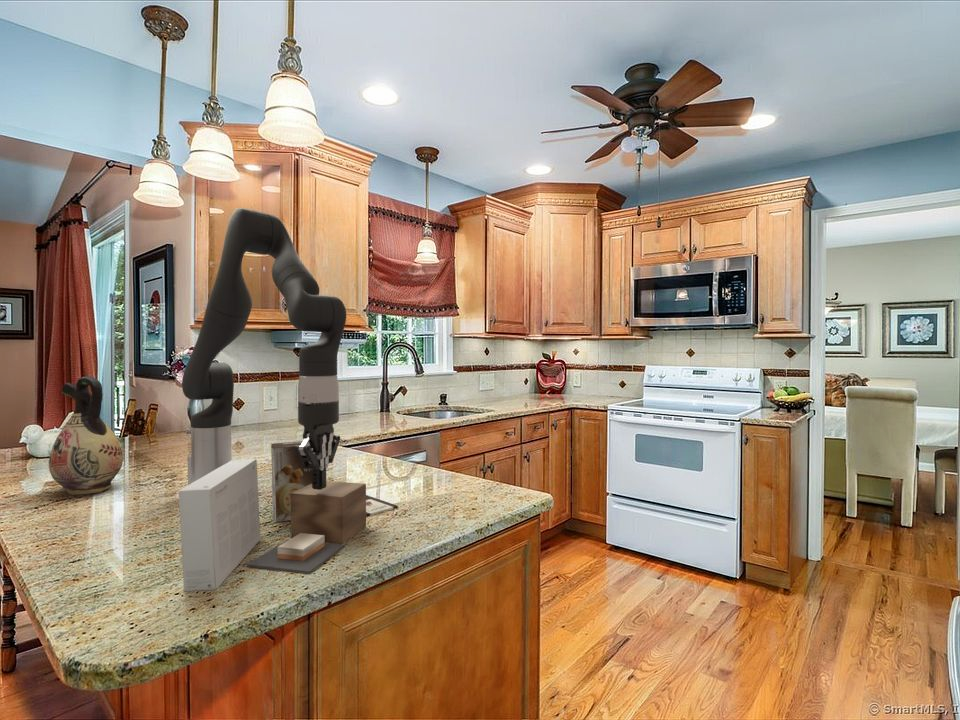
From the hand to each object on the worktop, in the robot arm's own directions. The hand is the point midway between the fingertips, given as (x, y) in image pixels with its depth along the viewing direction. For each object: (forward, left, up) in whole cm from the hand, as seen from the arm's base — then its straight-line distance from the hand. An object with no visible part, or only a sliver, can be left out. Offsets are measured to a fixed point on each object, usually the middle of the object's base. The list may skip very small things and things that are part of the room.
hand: (319, 488), depth 101 cm
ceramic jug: (-76, +17, -10) cm, 79 cm away
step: (0, +4, -10) cm, 11 cm away
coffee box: (-13, +12, -10) cm, 20 cm away
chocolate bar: (-3, +23, -11) cm, 26 cm away
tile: (+1, -7, -8) cm, 10 cm away
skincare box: (-10, -13, -10) cm, 20 cm away
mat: (0, -8, -10) cm, 13 cm away
